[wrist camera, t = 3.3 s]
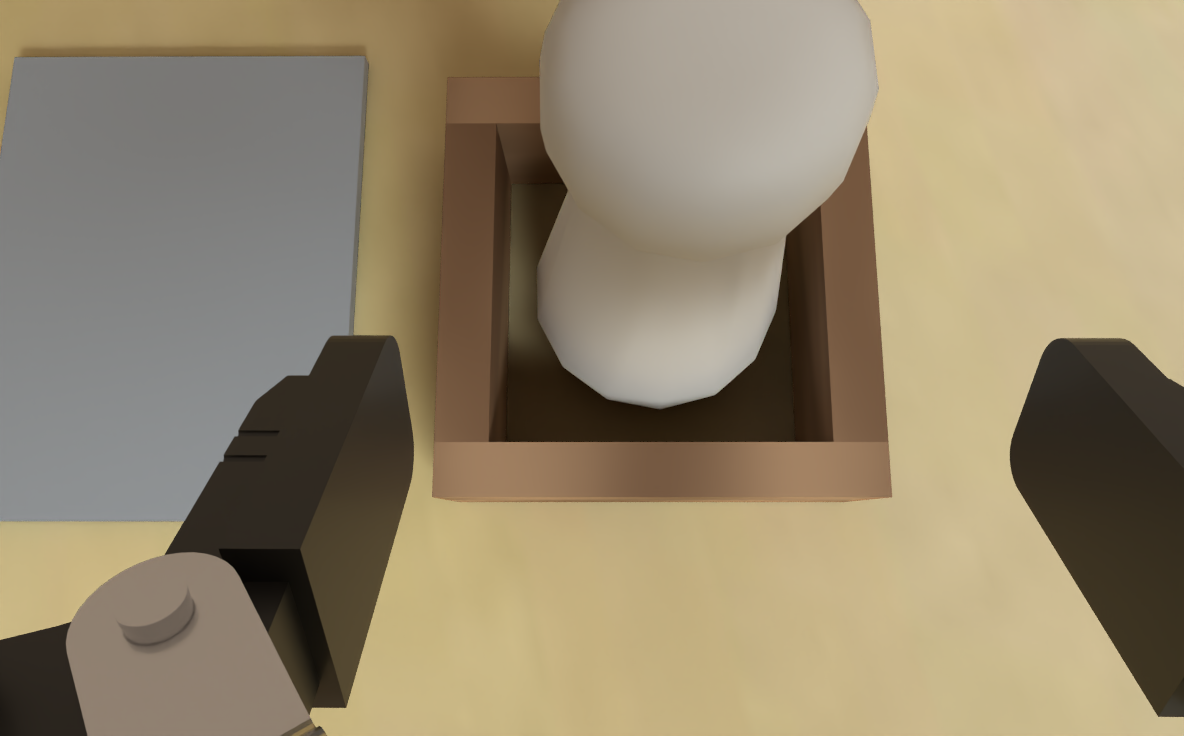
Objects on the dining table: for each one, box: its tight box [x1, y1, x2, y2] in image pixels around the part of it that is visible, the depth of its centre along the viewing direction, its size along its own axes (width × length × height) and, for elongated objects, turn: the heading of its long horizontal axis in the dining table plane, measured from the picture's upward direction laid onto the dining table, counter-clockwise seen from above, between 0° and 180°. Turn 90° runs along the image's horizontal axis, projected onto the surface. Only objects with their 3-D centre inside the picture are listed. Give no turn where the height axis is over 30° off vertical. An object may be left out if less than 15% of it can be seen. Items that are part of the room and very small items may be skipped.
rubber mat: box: [0, 56, 369, 521], centre depth 22 cm, size 10×13×1 cm
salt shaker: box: [537, 0, 879, 409], centre depth 16 cm, size 6×6×13 cm
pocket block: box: [432, 77, 892, 502], centre depth 20 cm, size 10×10×4 cm
